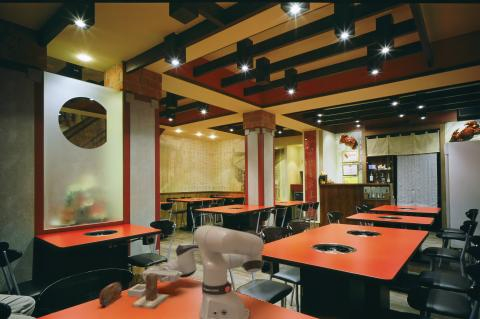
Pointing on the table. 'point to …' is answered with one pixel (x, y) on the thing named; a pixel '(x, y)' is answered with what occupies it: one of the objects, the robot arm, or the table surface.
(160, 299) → the board
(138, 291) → the holder
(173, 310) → the table surface
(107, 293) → the tin
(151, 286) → the peg
